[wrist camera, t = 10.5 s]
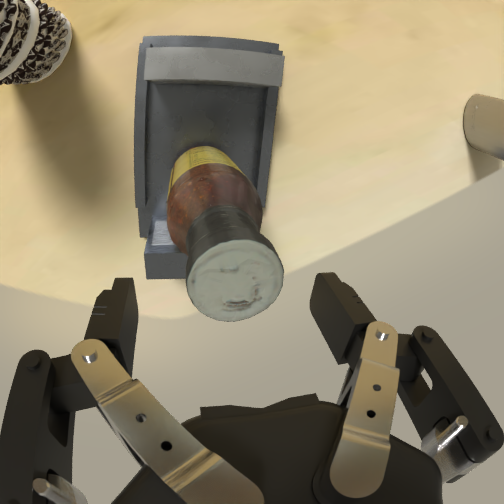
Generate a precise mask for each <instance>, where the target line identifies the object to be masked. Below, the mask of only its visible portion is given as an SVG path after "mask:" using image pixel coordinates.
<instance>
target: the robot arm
mask: <svg viewBox="0 0 504 504" xmlns="http://www.w3.org/2000/svg"><path fill="white" fill-rule="evenodd" d="M464 131H465V135H466V138H467V140H468V142H469V144H470V145H471V146H472V147H473V148H475V149H478V150H480V151H483V152H485V153H487V154H490V155H492V156H494V157H497V158H499V159H501V160H504V100H502V99H498V98H494V97H490V96H485V95H480V94H476V95H474V96H472V97H471V98H470V99H469V101H468V103H467V105H466V108H465V112H464ZM310 310H311V313H312V316H313V317H314V319H315V321H316V323H317V325H318V327H319V329H320V331H321V332H322V334H323V336H324V338H325V340H326V342H327V344H328V346H329V348H330V350H331V352H332V354H333V355H334V357H335V359H336V361H337V363H338V365H339V364H345V363H348V364H349V366H350V367H349V369H348V371H347V374H346V377H345V381H344V383H343V386H342V389H341V393H340V395H339V398H338V401H337V404H334V403H331V402H325V401H319V400H318V397H317V395H316V393H314V394H309V395H303V396H297V397H291V398H288V399H285V400H283V401H280V402H278V403H275V404H273V405H270V406H267V407H265V408H251V407H242V406H233V405H225V406H213V407H200V410H201V415H200V416H196V417H194V418H191V419H188V420H187V421H185V422H183V423H181V424H180V423H179V422H178V421H177V420H176V419H175V418H174V417H173V416H172V415H171V414H170V413H169V412H168V411H167V410H166V409H165V408H164V407H163V406H162V405H161V404H160V403H159V402H158V400H156V399H155V397H154V396H153V395H152V394H151V393H150V392H149V391H148V390H147V388H146V387H145V386H144V385H143V384H142V383H141V382H140V381H139V380H138V379H135V380H133V379H132V369H133V359H134V350H135V342H136V333H137V325H138V305H137V299H136V293H135V286H134V280H133V278H115V280H114V283H113V287H112V290H103V291H102V292H101V294H100V295H99V296H98V297H97V299H96V302H95V305H94V308H93V311H92V315H91V317H90V321H89V324H88V327H87V330H86V334H85V337H84V340H83V341H81V342H79V343H78V344H77V345H75V347H74V348H73V349H72V352H71V354H69V355H66V356H61V357H57V358H52V359H50V357H49V355H48V354H47V353H46V352H44V351H42V350H32V351H29V352H27V353H26V354H25V355H23V356H22V358H21V359H20V361H19V363H18V366H17V369H16V373H15V376H14V379H13V383H12V386H11V390H10V394H9V398H8V402H7V406H6V410H5V414H4V419H3V424H2V429H1V434H0V504H88V503H87V500H86V498H85V496H84V494H83V493H82V492H81V491H80V490H79V489H77V488H76V487H74V486H73V485H72V453H73V452H72V451H73V435H74V422H75V412H76V411H78V410H83V409H88V408H92V407H96V408H97V409H98V411H99V412H100V413H101V415H102V417H103V418H104V419H105V421H106V422H107V424H108V425H109V426H110V428H111V429H112V431H113V432H114V433H115V435H116V436H117V437H118V438H119V440H120V441H121V442H122V444H123V445H124V447H125V448H126V449H127V451H128V452H129V453H130V455H131V456H132V457H133V458H134V459H135V461H136V462H137V463H138V464H139V465H140V467H141V470H139V472H138V473H137V474H136V475H135V477H134V478H133V479H132V480H131V481H130V482H129V484H128V485H127V486H126V487H125V488H124V489H123V491H122V492H121V493H120V494H119V495H118V496H117V497H116V499H115V500H114V501H113V502H112V503H111V504H443V500H442V484H444V483H445V482H446V483H453V482H455V481H457V480H458V479H460V478H461V477H463V476H464V475H466V474H467V473H469V472H470V471H472V470H473V469H474V468H476V467H477V466H478V465H480V464H481V463H483V462H484V461H485V460H486V459H487V458H489V457H490V456H492V455H493V454H494V453H495V452H497V451H498V450H499V449H500V448H501V447H502V445H503V443H504V433H503V431H502V429H501V427H500V425H499V423H498V422H497V420H496V418H495V417H494V415H493V413H492V412H491V410H490V409H489V407H488V406H487V404H486V402H485V401H484V399H483V398H482V396H481V395H480V393H479V391H478V390H477V388H476V387H475V385H474V384H473V382H472V381H471V379H470V378H469V376H468V375H467V374H466V372H465V371H464V369H463V368H462V366H461V365H460V363H459V362H458V361H457V359H456V358H455V357H454V355H453V354H452V352H451V351H450V349H449V348H448V347H447V345H446V344H445V343H444V341H443V340H442V339H441V337H440V336H439V335H438V333H437V332H436V331H435V330H433V329H432V328H430V327H427V326H417V327H416V328H415V329H414V331H413V333H412V334H411V335H409V334H398V333H397V331H396V330H395V329H394V328H393V327H392V326H391V325H389V324H387V323H385V322H380V321H377V320H376V319H375V317H374V316H373V315H372V313H371V312H370V311H369V309H368V308H367V307H366V305H365V304H364V303H363V301H362V300H361V298H360V297H358V294H357V293H356V292H355V290H354V289H353V288H352V287H350V286H349V285H347V284H346V283H344V282H341V281H340V279H339V278H338V276H337V275H336V274H335V273H333V272H330V273H318V274H317V275H316V278H315V282H314V286H313V290H312V294H311V299H310ZM424 368H425V370H426V371H427V373H428V374H429V376H430V378H431V380H432V384H433V386H432V390H430V388H429V387H428V385H427V383H426V382H425V380H424V378H423V377H422V375H421V372H422V371H423V370H424ZM397 393H398V395H399V396H400V398H401V400H402V402H403V404H404V406H405V408H406V410H407V412H408V414H409V416H410V418H411V420H412V422H413V424H414V426H415V428H416V430H417V432H418V434H419V436H420V438H421V440H422V443H421V450H422V451H421V450H419V449H417V448H415V447H413V446H411V445H409V444H407V443H406V442H404V441H402V440H400V439H398V438H397V437H395V436H393V435H391V434H390V430H391V425H392V420H393V414H394V408H395V402H396V395H397Z"/></svg>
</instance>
